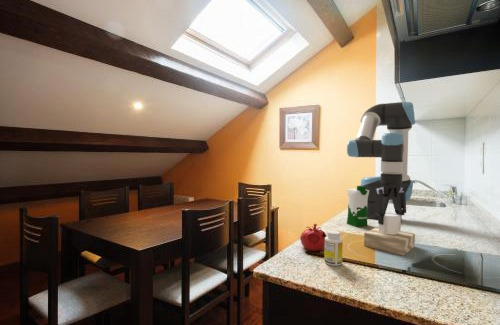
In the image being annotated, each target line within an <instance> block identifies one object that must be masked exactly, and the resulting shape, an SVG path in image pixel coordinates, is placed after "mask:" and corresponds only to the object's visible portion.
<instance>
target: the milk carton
mask: <svg viewBox="0 0 500 325" xmlns="http://www.w3.org/2000/svg"><path fill="white" fill-rule="evenodd" d="M346 191H347V201H348V202H347V219H346V224H347V225H350V226H354V227H355V228H359V227H368V218H367V200H368V195H369V190H365V186H360V185H356V188H349V189H348V188H347V189H346Z"/></svg>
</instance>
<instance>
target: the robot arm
mask: <svg viewBox="0 0 500 325" xmlns="http://www.w3.org/2000/svg"><path fill="white" fill-rule="evenodd" d="M414 110H415V109H414V104H413V102H411V101H401V102H400V101H399V102H389V103H379V104H375V105H373V106H371V107H369V108H368V109H367V110H366V111H364V113H363V114H362V115H361V117H360V118H361V119H360V125H359V129H358V132H357V134H356V136H355V139H351V140H348V142H347V144H346V153H347V156H348V157H352V158H380V159H381V160H380V172H381V174H380V176H379V175H378V176H366V177H362V178H361V180H360V185H359V186H365V190H369V195H368V200H367V219H370V218H371V219H372V220H374V219H375V220H378V222H377V224H378V227H379V232H381V233H384V234H386V216H385V213H387V208H388V205H389V203H390V201H392V204H393V208H394V212H395V213H394V214H397V215H400V221H399V229H398V232H401V231H402V229H401V228H402V224H401V223H402V219H403V218H402V216H405V215H406V214H407V202H409V201H410V200H411V197H412V194H413V186H414V180H412V179H411V176H409V175H408V161H409V160H408V159H409V158H408V156H409V155H408V154H409V132H410V131H411V129H413V126H414V125H416V117H415V111H414ZM379 126H380V127H381V126H383V127H384V126H385V127H386V130H387V131H388V132H386V133H383V134H382V135H381V139H374V138H375V135H376V130H377V128H378V127H379ZM371 219H370V220H371Z"/></svg>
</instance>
